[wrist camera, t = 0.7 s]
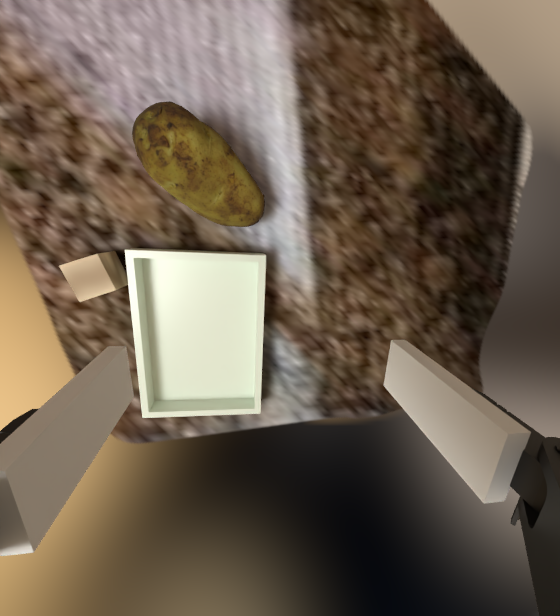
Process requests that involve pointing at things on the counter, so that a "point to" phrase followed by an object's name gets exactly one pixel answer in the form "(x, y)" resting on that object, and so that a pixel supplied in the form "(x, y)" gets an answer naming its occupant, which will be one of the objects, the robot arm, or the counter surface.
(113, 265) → the beech block
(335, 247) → the counter surface
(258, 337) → the tray
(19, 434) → the robot arm
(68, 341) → the counter surface
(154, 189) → the counter surface
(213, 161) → the potato
